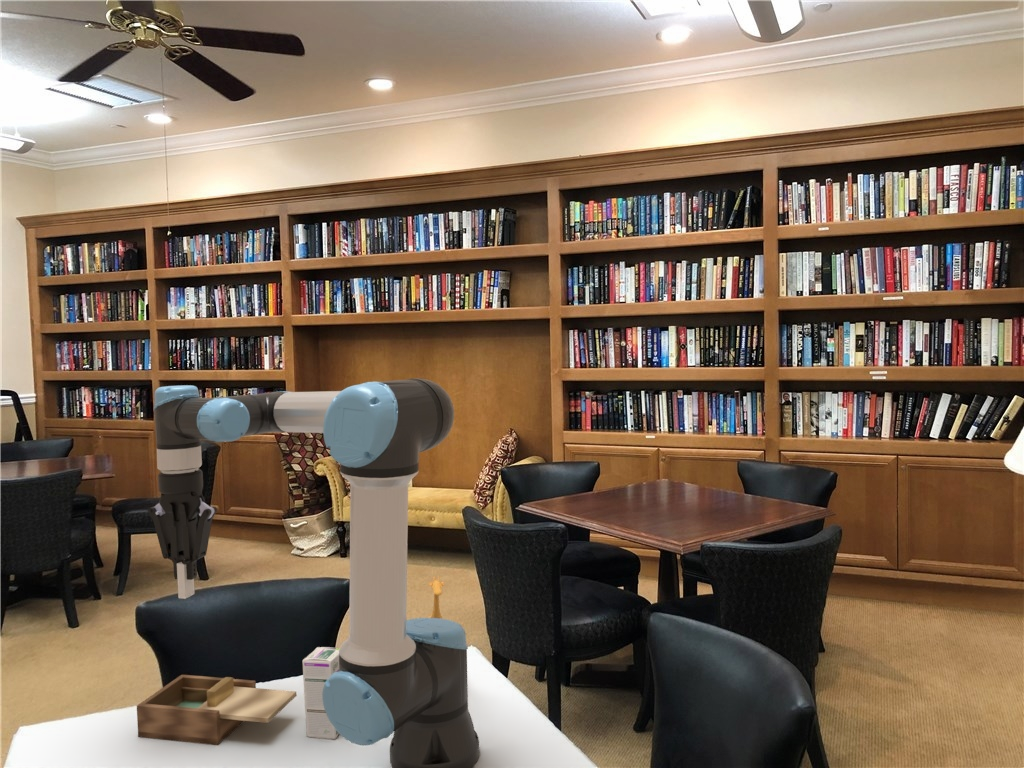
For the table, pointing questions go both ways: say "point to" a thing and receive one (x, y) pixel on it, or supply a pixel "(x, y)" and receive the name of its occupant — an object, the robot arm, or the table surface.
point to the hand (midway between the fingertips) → (186, 595)
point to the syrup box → (318, 690)
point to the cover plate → (246, 701)
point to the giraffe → (436, 597)
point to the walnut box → (186, 712)
